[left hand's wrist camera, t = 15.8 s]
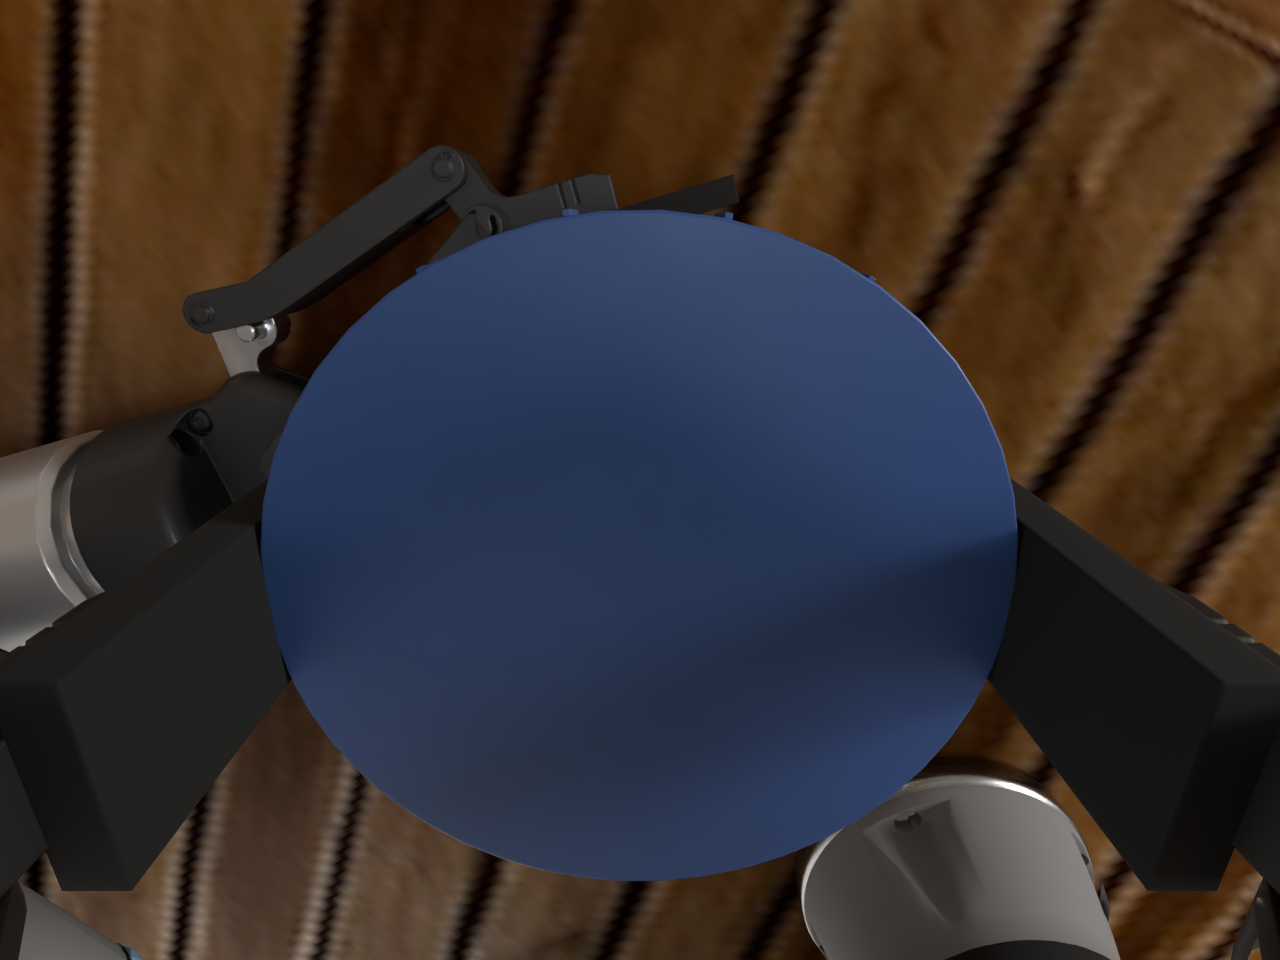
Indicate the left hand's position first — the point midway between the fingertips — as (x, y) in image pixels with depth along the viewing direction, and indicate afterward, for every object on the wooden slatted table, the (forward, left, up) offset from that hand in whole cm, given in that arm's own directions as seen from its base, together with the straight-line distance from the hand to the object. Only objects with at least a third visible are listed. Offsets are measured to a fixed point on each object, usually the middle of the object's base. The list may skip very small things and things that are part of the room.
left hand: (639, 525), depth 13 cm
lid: (0, 0, +3) cm, 3 cm away
